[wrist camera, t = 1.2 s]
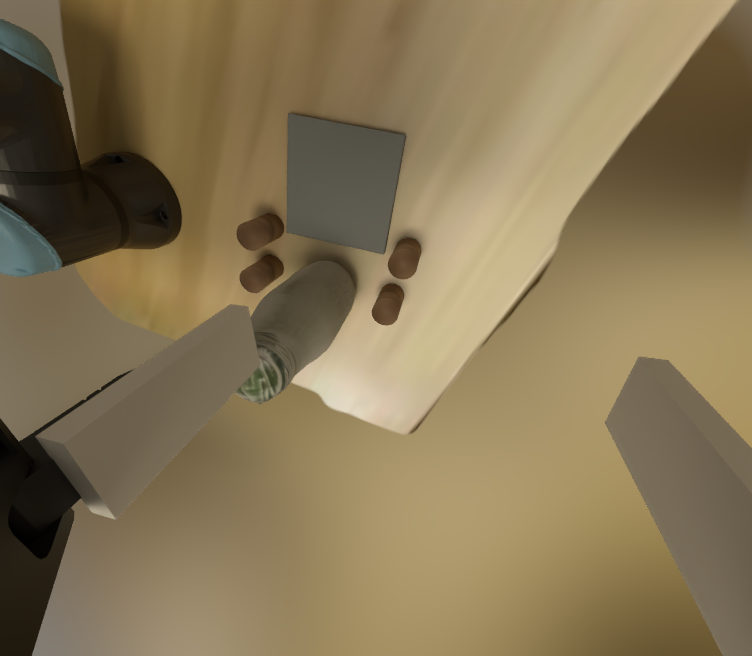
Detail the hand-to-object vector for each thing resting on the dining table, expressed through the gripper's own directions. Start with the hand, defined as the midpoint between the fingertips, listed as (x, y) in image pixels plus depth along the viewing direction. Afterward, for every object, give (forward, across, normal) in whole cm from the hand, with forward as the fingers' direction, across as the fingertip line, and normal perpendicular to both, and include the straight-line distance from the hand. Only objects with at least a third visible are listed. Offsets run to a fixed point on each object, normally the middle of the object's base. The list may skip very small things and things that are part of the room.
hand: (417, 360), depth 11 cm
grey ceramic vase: (+39, -18, -14) cm, 46 cm away
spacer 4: (+39, -6, -8) cm, 41 cm away
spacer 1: (+39, -28, -5) cm, 48 cm away
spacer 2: (+39, -29, -12) cm, 50 cm away
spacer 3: (+39, -8, -15) cm, 43 cm away
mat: (+39, -16, +1) cm, 42 cm away
